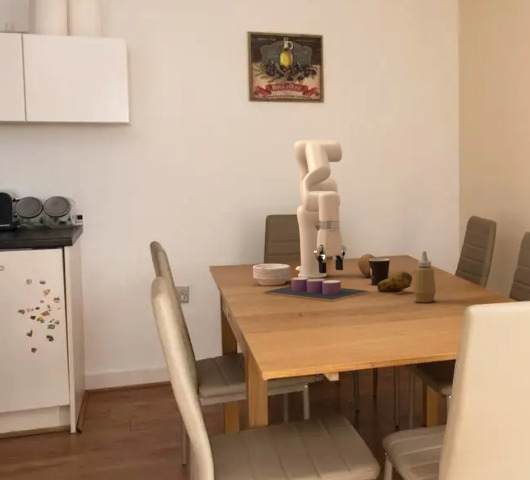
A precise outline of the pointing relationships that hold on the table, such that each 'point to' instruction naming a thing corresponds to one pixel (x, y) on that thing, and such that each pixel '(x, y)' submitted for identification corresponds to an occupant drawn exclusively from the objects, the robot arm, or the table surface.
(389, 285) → the potato
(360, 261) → the natural sponge
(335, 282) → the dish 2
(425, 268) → the squeeze bottle
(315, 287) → the dish mid
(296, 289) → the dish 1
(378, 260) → the coffee mug
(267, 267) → the paper bowls
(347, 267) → the table surface
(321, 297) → the placemat
